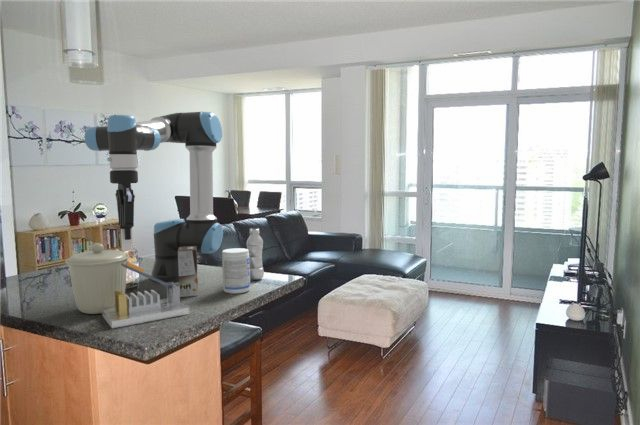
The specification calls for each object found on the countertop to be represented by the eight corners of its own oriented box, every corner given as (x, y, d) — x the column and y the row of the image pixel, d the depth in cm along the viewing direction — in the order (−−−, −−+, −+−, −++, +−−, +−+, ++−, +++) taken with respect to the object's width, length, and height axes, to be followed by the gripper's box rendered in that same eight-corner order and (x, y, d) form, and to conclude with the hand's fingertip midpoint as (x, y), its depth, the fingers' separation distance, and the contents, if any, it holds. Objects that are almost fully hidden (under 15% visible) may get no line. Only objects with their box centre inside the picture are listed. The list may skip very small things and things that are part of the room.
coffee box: (198, 296, 168) (196, 249, 166) (179, 297, 166) (177, 250, 165) (198, 289, 177) (196, 245, 175) (179, 290, 175) (178, 246, 173)
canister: (141, 309, 153) (138, 242, 151) (80, 322, 141) (76, 250, 139) (118, 298, 166) (115, 236, 164) (60, 309, 154) (56, 243, 152)
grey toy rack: (102, 315, 147) (100, 289, 146) (174, 303, 160) (173, 279, 159) (112, 328, 136) (110, 300, 135) (189, 313, 148) (188, 288, 147)
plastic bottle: (243, 280, 189) (242, 229, 187) (255, 276, 195) (253, 227, 193) (256, 282, 186) (254, 230, 184) (267, 278, 191) (266, 228, 189)
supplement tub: (254, 291, 173) (253, 250, 171) (229, 296, 167) (228, 253, 166) (243, 286, 181) (242, 246, 179) (219, 289, 176) (217, 249, 174)
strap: (119, 266, 144) (123, 259, 144) (172, 289, 153) (175, 283, 154) (122, 268, 141) (126, 261, 142) (175, 291, 151) (178, 285, 151)
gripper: (105, 169, 144) (109, 248, 147) (114, 169, 134) (118, 254, 136) (131, 169, 149) (135, 246, 151) (142, 169, 138) (146, 252, 140)
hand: (127, 250), depth 143 cm, fingers closed
